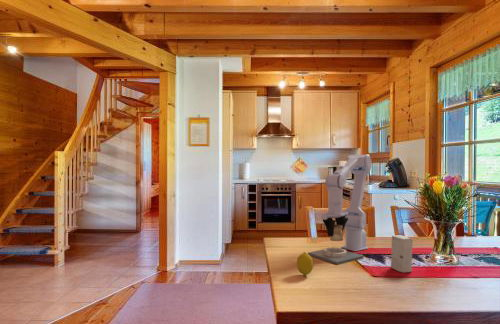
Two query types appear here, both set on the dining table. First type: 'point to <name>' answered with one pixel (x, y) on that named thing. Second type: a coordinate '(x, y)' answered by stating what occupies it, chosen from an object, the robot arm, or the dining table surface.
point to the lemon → (304, 264)
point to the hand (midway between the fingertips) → (335, 235)
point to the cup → (337, 233)
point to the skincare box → (401, 253)
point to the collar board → (336, 259)
